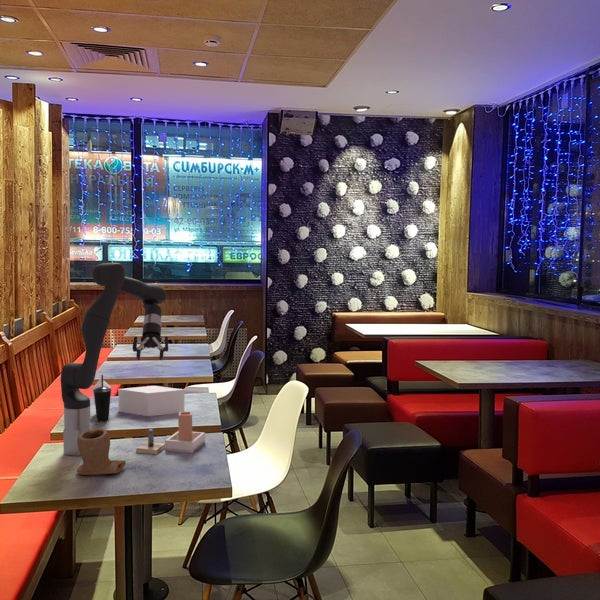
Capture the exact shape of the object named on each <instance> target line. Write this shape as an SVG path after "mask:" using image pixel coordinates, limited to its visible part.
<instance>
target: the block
mask: <svg viewBox="0 0 600 600" xmlns="http://www.w3.org/2000/svg"><path fill="white" fill-rule="evenodd" d="M117 391H118V412H120V413H126V414H131V415H132V414H133V415H138V416H145V417H152V416H153V417H154V416H160V415H162V416H163V415H172V414H179V412H185V389H181V388H175V387H174V388H173V387H167V386H162V385H161V386H159V385H147V386H136V387H135V386H134V387H127V388H118V390H117Z"/></svg>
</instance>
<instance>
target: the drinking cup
mask: <svg viewBox="0 0 600 600" xmlns="http://www.w3.org/2000/svg"><path fill="white" fill-rule="evenodd" d="M100 377H101V378H100V379H101V380H102V387H98V388H96V389H94V390H93V392H94V396H93V399H94V398H95V403H94V406H95V413H96V414H95V416H96V422H98V423H105V422H108V421H109V418H110V409H111V408H110V406H111V396H112V395H111V394H112V387H111V388H108V387H103V380H104V375H103V374H101V376H100ZM93 392H92V393H93Z"/></svg>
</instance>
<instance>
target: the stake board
mask: <svg viewBox="0 0 600 600" xmlns="http://www.w3.org/2000/svg"><path fill="white" fill-rule="evenodd" d="M135 450H136V453H141V454H149V455H150V454H151V455H157V454H158V453H160V452H162V450H165V442H164V443H162V442H161V443H160V442H154V446H153V447H149V446H148V441H145V442H144V443H142V444H140V445H139V446H138V447H136V448H135Z"/></svg>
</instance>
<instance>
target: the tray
mask: <svg viewBox="0 0 600 600" xmlns="http://www.w3.org/2000/svg"><path fill="white" fill-rule="evenodd" d="M205 443H206V432H201V431H192V441H191V442H190V441H179V439H178V430H177V431H176V432H175V433H173V434H172V435H170V436H169V437H168V438H166V439H165V440H164V444H165V448H164V451H165V452H177V453H186V454H194V453H195V452H196V451H197V450H198V449H199V448H201V447H202V446H203V445H204V444H205Z"/></svg>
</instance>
